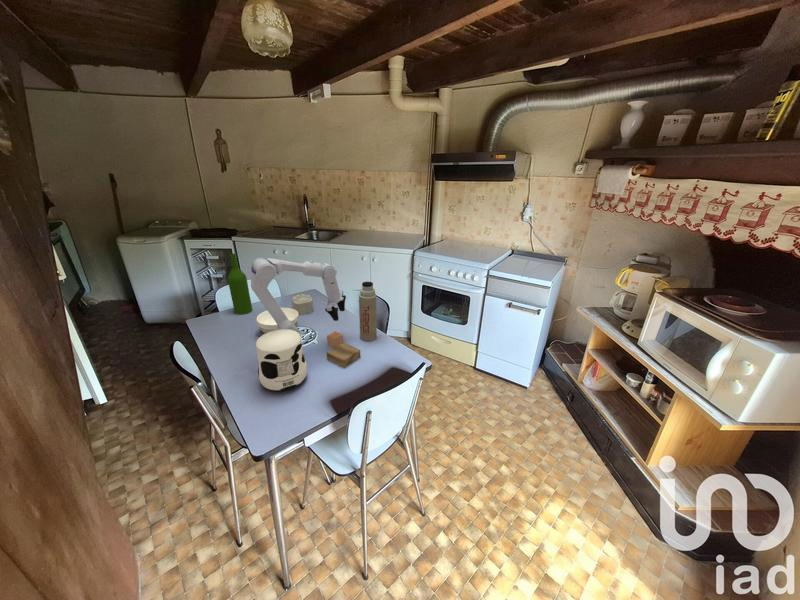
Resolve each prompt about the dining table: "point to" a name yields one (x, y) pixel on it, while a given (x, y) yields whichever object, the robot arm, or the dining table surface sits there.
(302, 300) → the lumpy-topped squat cylinder
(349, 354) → the walnut base
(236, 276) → the wine bottle
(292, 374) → the milk container
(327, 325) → the dining table surface
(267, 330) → the bowl
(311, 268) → the robot arm
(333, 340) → the terracotta cube
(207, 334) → the dining table surface
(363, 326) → the thermos bottle
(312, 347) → the dining table surface
